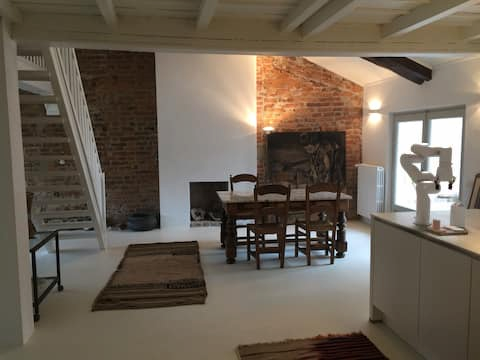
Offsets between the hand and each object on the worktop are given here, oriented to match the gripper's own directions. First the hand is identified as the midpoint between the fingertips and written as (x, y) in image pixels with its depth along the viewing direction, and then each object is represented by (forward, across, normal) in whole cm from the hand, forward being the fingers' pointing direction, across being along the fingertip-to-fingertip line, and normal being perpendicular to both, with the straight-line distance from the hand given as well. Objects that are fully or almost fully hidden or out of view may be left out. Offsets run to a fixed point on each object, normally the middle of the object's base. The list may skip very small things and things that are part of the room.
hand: (443, 189), depth 278 cm
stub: (+27, +8, +6) cm, 29 cm away
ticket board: (+28, +1, +6) cm, 29 cm away
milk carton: (+28, -18, -8) cm, 35 cm away
